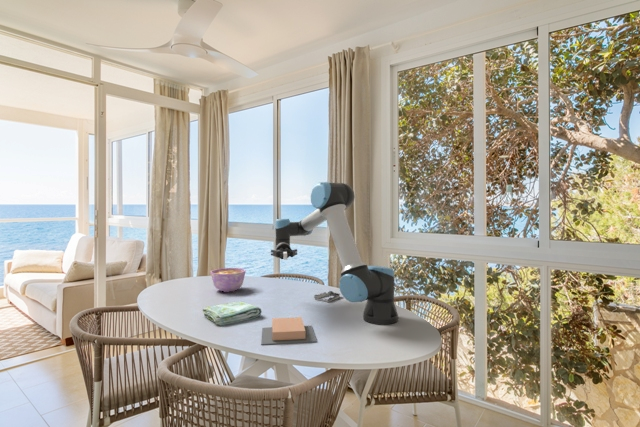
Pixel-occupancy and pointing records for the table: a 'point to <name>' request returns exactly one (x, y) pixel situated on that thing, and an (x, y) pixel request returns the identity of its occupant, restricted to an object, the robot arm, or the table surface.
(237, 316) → the towel
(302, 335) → the terracotta slab
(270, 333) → the charcoal mat
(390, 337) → the table surface
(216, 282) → the bowl of food
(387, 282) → the robot arm
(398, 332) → the table surface
